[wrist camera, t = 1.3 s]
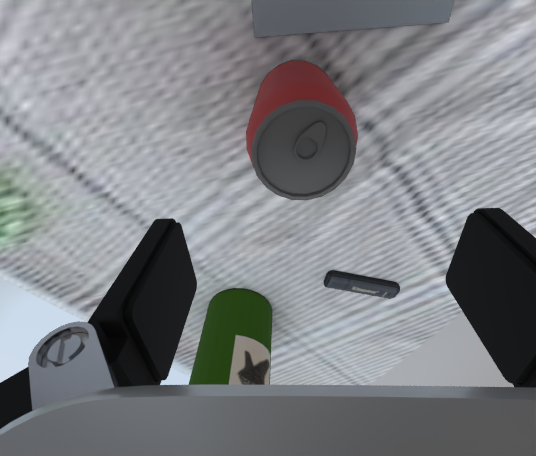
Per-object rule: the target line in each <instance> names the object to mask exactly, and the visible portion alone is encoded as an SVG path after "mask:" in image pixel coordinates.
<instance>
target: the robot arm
mask: <svg viewBox="0 0 536 456" xmlns="http://www.w3.org/2000/svg"><path fill="white" fill-rule="evenodd" d="M446 284H447V287H448V288H449V290H450V292H451V293H452V295H453V296H454V298H455V300H456V301H457V303H458V304H459V306H460V308H461V309H462V311H463V312H464V314H465V316H466V317H467V319H468V320H469V322H470V323H471V325H472V327H473V328H474V330H475V332H476V333H477V335H478V337H479V338H480V339H481V341H482V343H483V345H484V346H485V348H486V349H487V351H488V352H489V354H490V356H491V357H492V359H493V361H494V362H495V364H496V365H497V367H498V369H499V370H500V372H501V373H502V375H503V377H504V378H505V379H506V380H507V381H508V382H510V383H512V384H513V385H514V387H455V386H453V387H451V386H450V387H449V386H368V385H160V383H161V380H165V379H166V378H167V376H168V374H169V371H170V368H171V365H172V362H173V359H174V356H175V353H176V350H177V347H178V344H179V341H180V338H181V335H182V332H183V329H184V325H185V322H186V319H187V316H188V313H189V310H190V307H191V304H192V301H193V298H194V295H195V292H196V288H197V281H196V277H195V273H194V269H193V266H192V262H191V259H190V255H189V251H188V248H187V244H186V241H185V237H184V233H183V230H182V226H181V224H180V223H176V221H175V220H174V219H156V220H155V221H154V222H153V224H152V225H151V227H150V228H149V230H148V231H147V233H146V234H145V236H144V237H143V239H142V240H141V242H140V243H139V245H138V246H137V248H136V249H135V251H134V252H133V254H132V256H131V257H130V259H129V260H128V262H127V263H126V265H125V266H124V268H123V269H122V271H121V272H120V274H119V275H118V277H117V278H116V280H115V281H114V283H113V284H112V286H111V287H110V289H109V290H108V292H107V293H106V295H105V297H104V298H103V300H102V301H101V303H100V304H99V306H98V307H97V309H96V310H95V312H94V313H93V315H92V316H91V318H90V319H89V321H88V322H73V323H69V324H66V325H63V326H61V327H59V328H57V329H55V330H53V331H52V332H50V333H49V334H48V335H46V336H45V337H44V338H43V339H41V340H40V342H39V343H38V344H37V345H36V346H35V347H34V349H33V351H32V353H31V355H30V357H29V363H28V366H29V367H27V368H25V369H24V370H22V371H20V372H19V373H17V374H15V375H13V376H11V377H10V378H8V379H6V380H5V381H3V382H1V383H0V456H536V238H535V237H534V236H533V235H531V234H530V233H529V232H528V231H527V230H525V229H524V228H523V227H522V226H521V225H520V224H518V223H517V222H516V221H515V220H514V219H513V218H511V217H510V216H509V215H508V214H507V213H506V212H504V211H503V210H502V209H500V208H480V209H476V210H475V211H474V213H471V214H470V215H469V216H468V218H467V220H466V223H465V226H464V228H463V231H462V234H461V236H460V239H459V242H458V245H457V247H456V250H455V253H454V255H453V258H452V261H451V264H450V266H449V269H448V272H447V274H446Z"/></svg>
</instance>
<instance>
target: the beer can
mask: <svg viewBox="0 0 536 456" xmlns="http://www.w3.org/2000/svg"><path fill="white" fill-rule="evenodd" d="M357 138H358V133H357V126H356V119H355V115H354V113H353V112H352V110H351V108H350V106H349V104H348V102H347V100H346V99H345V98H344V96H343V95H342V94H341V93H340V91H339V90H338V89H337V87H336V86H335V85H334V83H333V82H332V81H331V79H330V78H329V77H328V75H327V74H326V73H325V72H323V71H322V70H321V69H320V68H319V67H318V66H317V65H314V64H312V63H309V62H306V61H289V62H286V63H283V64H280V65H278V66H277V67H276V68H275V69H273V70H272V71H271V72H269V73H268V75H267V76H266V78H265V79H264V81H263V82H262V84H261V85H260V89H259V92H258V95H257V98H256V101H255V104H254V107H253V111H252V114H251V117H250V120H249V124H248V127H247V131H246V140H247V151H248V154H249V156H250V159H251V162H252V165H253V167H254V169H255V171H256V174H257V176H258V178H259V179H260V180H261V181H262V183H263V184H264V185H265V186H266V187H267V188H268V189H269V190H271V191H272V192H274V193H275V194H277V195H279V196H282V197H285V198H288V199H291V200H310V199H314V198H318V197H322V196H323V195H325V194H327V193H329V192H331V191H332V190H334V189H335V188H336V187H337V186H338V185H339V184H340V183H341V182H342V181H343V180H344V179H345V178H346V177H347V175H348V173H349V171H350V169H351V168H352V166H353V163H354V158H355V153H356V144H357Z"/></svg>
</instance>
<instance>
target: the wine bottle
mask: <svg viewBox="0 0 536 456" xmlns="http://www.w3.org/2000/svg"><path fill="white" fill-rule="evenodd" d="M271 334H272V309H271V307H270V304H269V302H268V301H267V300H266V299H265V298H264V297H263V296H261V295H260V294H258V293H256V292H253V291H251V290H246V289H229V290H225V291H223V292H220V293H219V294H217V295H216V296H215V297H214V298H213V299H212V301H211V302H210V304H209V307H208V311H207V315H206V319H205V323H204V327H203V330H202V334H201V338H200V342H199V346H198V350H197V354H196V358H195V362H194V366H193V370H192V374H191V378H190V382H189V385H270V364H271Z"/></svg>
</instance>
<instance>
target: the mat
mask: <svg viewBox="0 0 536 456" xmlns="http://www.w3.org/2000/svg"><path fill="white" fill-rule="evenodd" d="M453 3H454V0H252V11H253V24H254V37H267V36H279V35H292V34H305V33H318V32H331V31H344V30H357V29H370V28H383V27H396V26H409V25H421V24H434V23H447V22H449V20H450V15H451V11H452V7H453Z"/></svg>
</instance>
